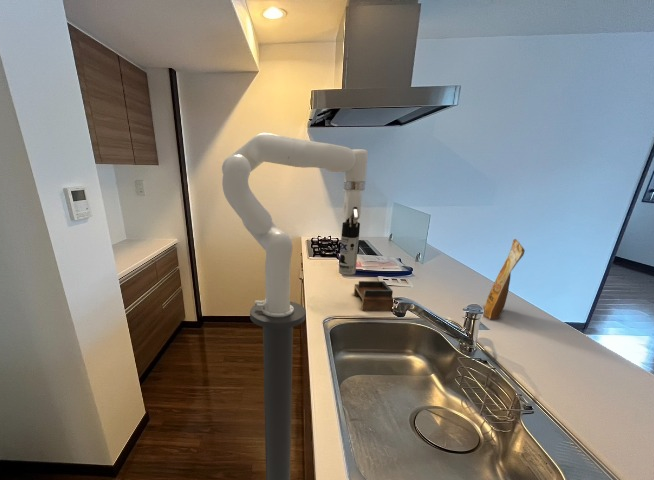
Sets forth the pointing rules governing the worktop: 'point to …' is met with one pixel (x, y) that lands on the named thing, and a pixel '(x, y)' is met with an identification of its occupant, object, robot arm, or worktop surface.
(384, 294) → the dark wooden tray box
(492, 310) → the pancake mix bag
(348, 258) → the spray can
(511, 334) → the worktop surface
